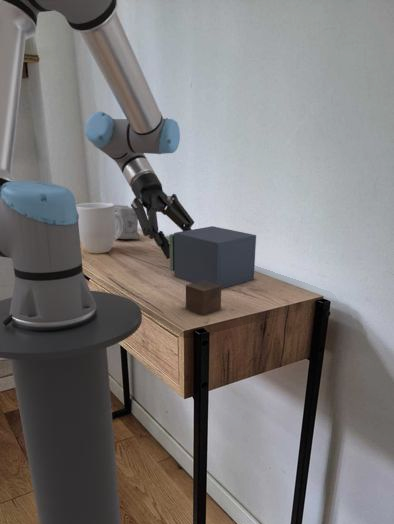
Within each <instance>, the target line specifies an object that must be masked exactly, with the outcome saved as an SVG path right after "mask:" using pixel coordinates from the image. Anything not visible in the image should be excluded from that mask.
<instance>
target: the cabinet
mask: <svg viewBox="0 0 394 524" xmlns="http://www.w3.org/2000/svg"><path fill="white" fill-rule="evenodd" d="M173 234H174V261H175V271H174V277H175V278H178V279H182V280H184V281H187V282H190V283H195V282H199V281H203V280H205V281H208V282H211V283H215V284H218V285H221V290H222V289H225V288H229V287H232V286H236V285H239V284H243V283H246V282H250V281H253V280H254V279H255V267H256V266H255V265H256V263H255V262H256V249H257V248H256V246H257V234H252V233H248V232H243V231H238V230H233V229H227V228H223V227H219V226H213V225H211V226H206V227H199V228H195V229H192V230H188V231H182V230H181V231H176V232H174V233H173Z"/></svg>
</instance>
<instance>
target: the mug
mask: <svg viewBox="0 0 394 524" xmlns="http://www.w3.org/2000/svg"><path fill="white" fill-rule="evenodd" d="M114 205H115V204H114V203H111V202H84V203H78V204H76V208H77V212H78V215H79V220H78V224H79V235H80V244H81V245H82V246H83V248H84V250H85V251H86V252H87V253H88V254H89V253H90V254H96V255H97V254H105V253H109V252H110V251H111V250H112V248H113V245H114V242H115V241H116V240H118V239H119V237H120V235H121V233H122V230H123V220H122V218H121V216H120V215H119V214H118V213H117V212H115V207H114ZM115 216H116V217H117V218H118V223H119V227H118V231H117V234H116V235H115V231H116V229H115V228H116V220H115Z"/></svg>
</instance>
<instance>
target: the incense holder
mask: <svg viewBox="0 0 394 524" xmlns="http://www.w3.org/2000/svg"><path fill="white" fill-rule="evenodd" d="M114 207H115V212H117V213H118V214H119V215H120V216H121V218H122V220H123V230H122V233H121V235H120V237H119V238H118V239H119V240H140V237H141V236H140V234H139V232H138V227H139V221H138V218H137V215H136V213H135V211H134V209H133V208H132V207H131V206H129V205H123V204H122V205H121V204H114ZM115 220H116V228H115V229H116V231H115V235H116V234H117V231H118V227H119V223H118V218H117V217H116V216H115Z"/></svg>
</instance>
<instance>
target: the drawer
mask: <svg viewBox="0 0 394 524" xmlns="http://www.w3.org/2000/svg"><path fill="white" fill-rule="evenodd" d="M165 237H166V239H167V241H168V242H169V244H170V258H169V271H171V272H175V261H174V233H172V234H169V235H168V236H165Z"/></svg>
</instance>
